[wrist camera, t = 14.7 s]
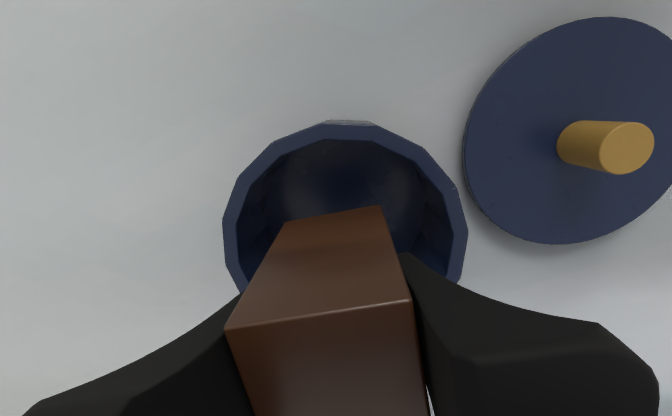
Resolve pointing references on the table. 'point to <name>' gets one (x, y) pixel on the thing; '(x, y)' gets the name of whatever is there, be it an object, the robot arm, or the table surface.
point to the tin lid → (573, 132)
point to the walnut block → (330, 323)
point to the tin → (345, 195)
